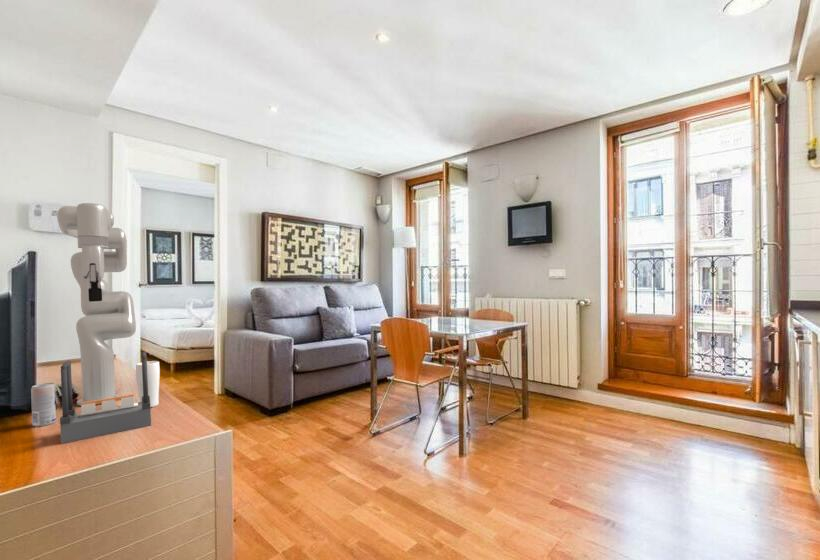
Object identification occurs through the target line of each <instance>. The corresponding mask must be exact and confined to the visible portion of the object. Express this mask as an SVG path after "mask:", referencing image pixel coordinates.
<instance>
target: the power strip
mask: <svg viewBox="0 0 820 560" xmlns="http://www.w3.org/2000/svg"><path fill="white" fill-rule="evenodd" d="M135 403H136V402H134V404H135ZM137 403H138V406H137V407H131V408H126V409H120V410H115V411H109V412H103V413H98V414H92V415H86V416H81V417H77V413H78V412H77V413H76V412H75V415H74V416H71V423H69V424H63V425H60V426H59V427H60V444H67V443H73V442H76V441H82V440H86V439H87V440H88V439H91V438H96V437H101V436H105V435H110V434H111V435H112V434H115V433H116V434H117V433H121V432H126V431H130V430H136V429H140V428H146V427H151V426H152V419H151V417H152V412H151V408H150V409H145V410H142V402H140V401H139V402H137ZM117 406H118V405H117ZM117 406H116V405H115V407H117ZM100 409H101V408H100ZM100 409H98V410H100ZM150 425H151V426H150ZM145 426H146V427H145Z"/></svg>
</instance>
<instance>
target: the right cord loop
mask: <svg viewBox="0 0 820 560" xmlns="http://www.w3.org/2000/svg"><path fill="white" fill-rule="evenodd" d="M147 362H148V359H147V352H146V351H143V352H141V363H142V376H143V397H142V410H145V409H150V410H151V408H150V396H148V378H147Z"/></svg>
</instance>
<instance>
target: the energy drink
mask: <svg viewBox="0 0 820 560" xmlns="http://www.w3.org/2000/svg"><path fill="white" fill-rule="evenodd" d="M55 389H56V386H55V384H54V383H53V382H47V383H39V384H35V385H32V386H31V389H30V400H31V419H32V420H31V424H32V427H34V426H35V428H40V427H39V426H41V427H45V426H49V424H50V425H52V424H54V423H56V421H57V414H56V413H57V411H56V410H57V409H56V390H55Z"/></svg>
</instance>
